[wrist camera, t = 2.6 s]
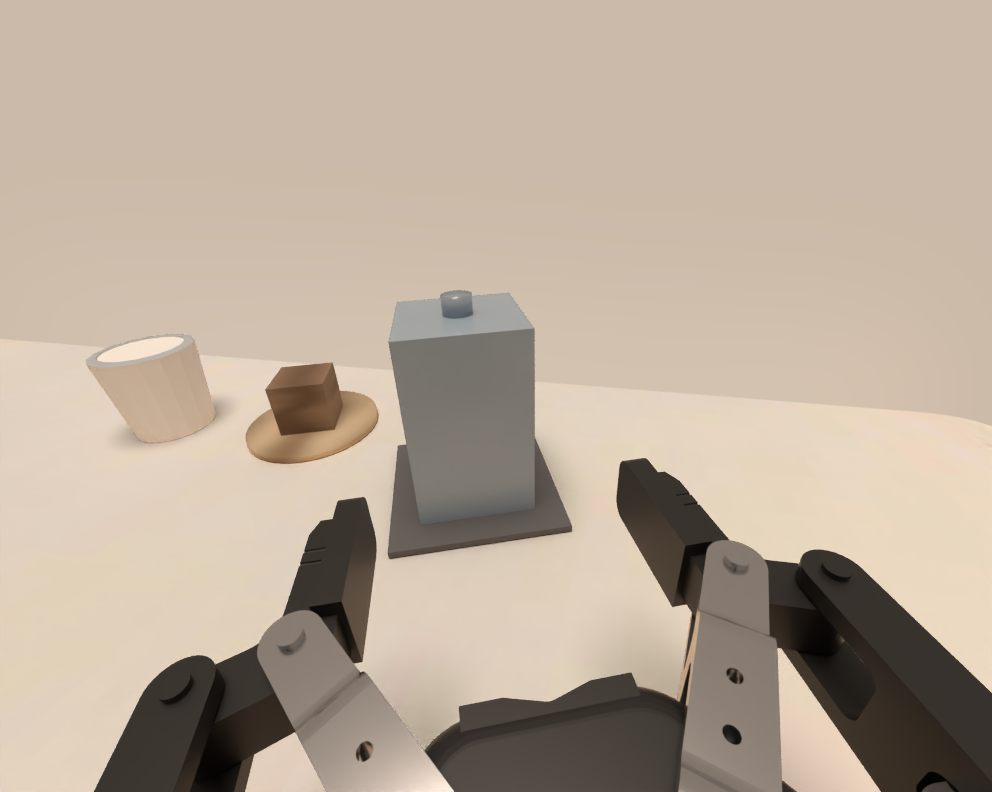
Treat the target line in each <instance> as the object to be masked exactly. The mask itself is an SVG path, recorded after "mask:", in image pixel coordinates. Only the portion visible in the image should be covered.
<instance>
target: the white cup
mask: <svg viewBox="0 0 992 792" xmlns="http://www.w3.org/2000/svg"><path fill="white" fill-rule="evenodd" d="M86 365H87V366H88V368H89V369H90V371H91V372H92V374H93V375H94V376H95V378H96V379H97V381H98V382H99V384H100V385H101V386H102V388H103V389H104V391H105V392H106V393H107V395H108V396H109V398H110V399H111V401H112V402H113V403H114V405H115V406H116V408H117V409H118V411H119V412H120V413H121V415H122V416H123V418H124V419H125V421H126V422H127V423H128V425H129V426H130V428H131V429H132V431H133V432H134V433H135V435H136V436H137V438H138V439H139V440H141V441H143V442H146V443H161V442H166V441H171V440H176V439H179V438H182V437H185V436H188V435H191V434H193V433H195V432H197V431H199V430H201V429H203V428H205V427H206V426H207V425H208V424H209V423H211V422H212V421H213V420H214V418H215V415H216V413H215V410H214V406H213V403H212V399H211V396H210V392H209V389H208V385H207V382H206V378H205V375H204V372H203V368H202V365H201V361H200V358H199V354H198V351H197V347H196V344H195V340H194V339H193V337H192V336H190V335H184V334H166V335H159V336H151V337H145V338H141V339H137V340H132V341H127V342H124V343H121V344H118V345H114V346H111V347H108V348H106V349H104V350H101V351H99V352H97V353H95V354H93V355H92V356H91V357H89V358H88V359H87V360H86Z"/></svg>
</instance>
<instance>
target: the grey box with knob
mask: <svg viewBox="0 0 992 792" xmlns="http://www.w3.org/2000/svg"><path fill="white" fill-rule="evenodd" d="M389 348H390V353H391V359H392V364H393V370H394V376H395V382H396V388H397V393H398V399H399V405H400V410H401V416H402V422H403V427H404V433H405V439H406V445H407V450H408V456H409V462H410V467H411V473H412V479H413V484H414V490H415V496H416V502H417V507H418V513H419V519H420V524H421V525H424V524H431V523H438V522H445V521H452V520H459V519H466V518H473V517H480V516H487V515H494V514H501V513H508V512H515V511H522V510H529V509H535V380H534V379H535V376H534V375H535V374H534V373H535V372H534V371H535V370H534V366H535V364H534V327H533V326H532V324H531V323H530V321H529V320H528V319H527V317H526V316H525V314H524V313H523V312H522V310H521V309H520V307H519V306H518V304H517V303H516V302H515V300H514V299H513V297H512V296H511V295H510V293H500V294H487V295H475V296H472V293H471V292H469V291H461V290H458V291H449V292H445V293H442V294H441V295H440V298H439V299H427V300H415V301H403V302H397V304H396V308H395V313H394V318H393V323H392V328H391V332H390V338H389Z"/></svg>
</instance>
